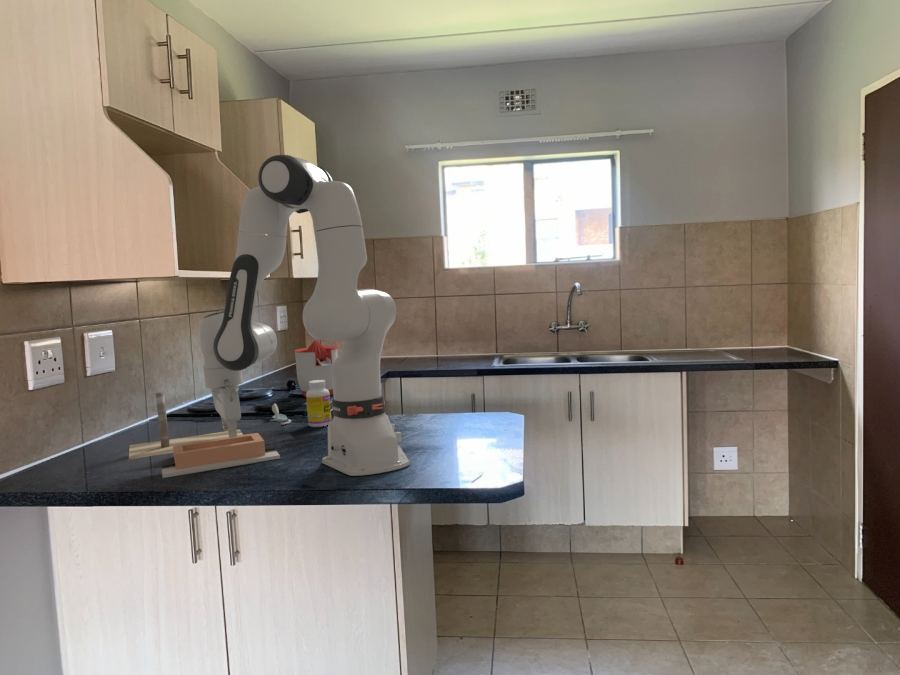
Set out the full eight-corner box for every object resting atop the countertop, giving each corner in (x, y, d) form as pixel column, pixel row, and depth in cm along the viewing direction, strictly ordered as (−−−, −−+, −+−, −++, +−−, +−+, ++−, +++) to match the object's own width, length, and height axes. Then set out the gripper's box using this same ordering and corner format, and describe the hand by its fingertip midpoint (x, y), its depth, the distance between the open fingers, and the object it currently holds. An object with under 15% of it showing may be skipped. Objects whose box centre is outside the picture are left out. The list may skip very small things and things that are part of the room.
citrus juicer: (307, 401, 235) (302, 344, 233) (292, 395, 250) (287, 341, 248) (349, 395, 243) (345, 339, 241) (332, 389, 258) (328, 336, 256)
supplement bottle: (326, 427, 193) (323, 382, 192) (304, 428, 194) (301, 383, 193) (335, 422, 199) (331, 378, 198) (314, 422, 201) (310, 379, 199)
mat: (280, 458, 163) (279, 455, 163) (162, 477, 152) (162, 474, 152) (270, 446, 175) (269, 443, 175) (160, 463, 165) (160, 460, 165)
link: (265, 455, 163) (264, 440, 163) (176, 469, 155) (174, 454, 155) (258, 446, 173) (257, 432, 172) (174, 459, 164) (172, 445, 164)
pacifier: (293, 421, 206) (272, 421, 206) (292, 400, 205) (271, 401, 205) (289, 426, 199) (268, 427, 198) (288, 405, 198) (267, 406, 198)
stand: (248, 446, 176) (242, 387, 175) (129, 465, 165) (122, 402, 163) (240, 434, 191) (235, 379, 189) (130, 450, 179) (123, 392, 178)
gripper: (243, 380, 158) (250, 439, 159) (231, 372, 177) (237, 425, 178) (215, 384, 155) (222, 443, 157) (205, 376, 174) (211, 429, 175)
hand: (230, 433), depth 167 cm, fingers open, 8 cm apart
